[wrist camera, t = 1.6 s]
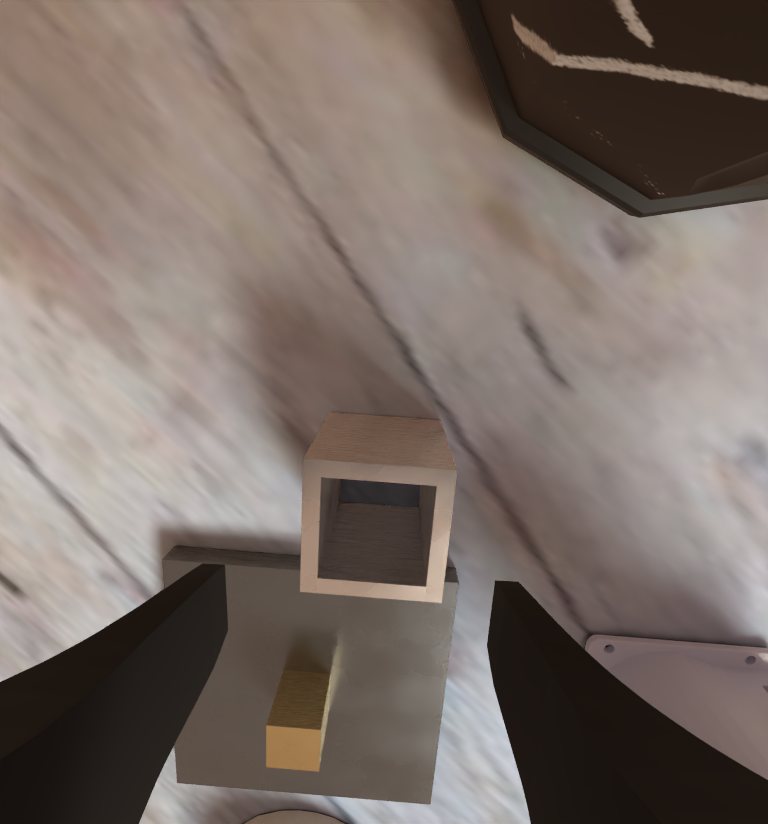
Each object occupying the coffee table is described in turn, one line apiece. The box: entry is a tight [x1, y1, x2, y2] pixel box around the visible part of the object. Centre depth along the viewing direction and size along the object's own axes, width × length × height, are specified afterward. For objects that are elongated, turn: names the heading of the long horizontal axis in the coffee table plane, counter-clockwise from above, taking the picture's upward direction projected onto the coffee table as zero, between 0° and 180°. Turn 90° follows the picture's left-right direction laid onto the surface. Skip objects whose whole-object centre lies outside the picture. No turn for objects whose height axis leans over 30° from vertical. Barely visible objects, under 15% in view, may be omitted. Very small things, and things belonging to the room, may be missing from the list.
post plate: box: [163, 546, 459, 804], centre depth 22 cm, size 14×14×4 cm
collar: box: [300, 412, 457, 603], centre depth 18 cm, size 5×5×6 cm
